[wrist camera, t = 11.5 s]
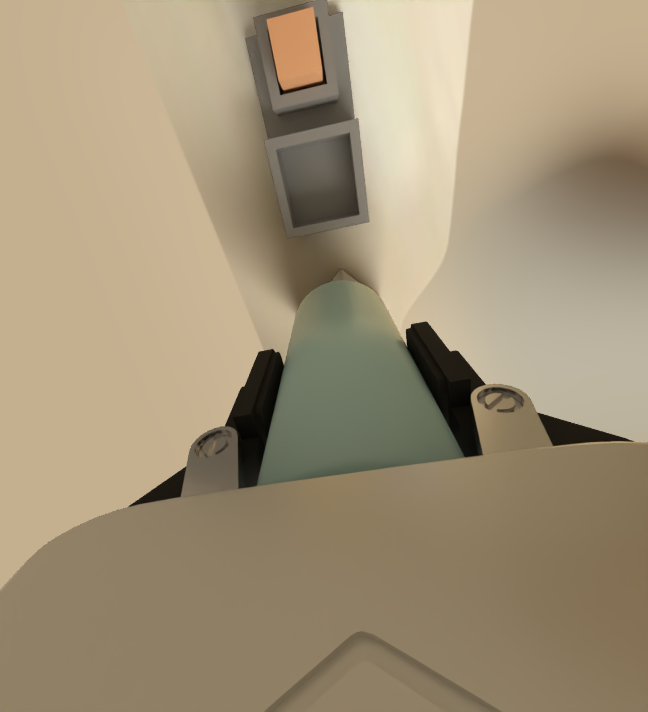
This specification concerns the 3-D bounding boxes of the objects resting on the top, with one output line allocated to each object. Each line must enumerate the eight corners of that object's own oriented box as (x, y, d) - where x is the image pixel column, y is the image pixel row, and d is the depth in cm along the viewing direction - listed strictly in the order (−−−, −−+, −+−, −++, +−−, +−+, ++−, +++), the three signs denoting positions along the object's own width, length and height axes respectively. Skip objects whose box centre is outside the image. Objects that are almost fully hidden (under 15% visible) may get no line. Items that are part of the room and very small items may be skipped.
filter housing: (364, 217, 33) (369, 222, 29) (291, 232, 33) (287, 238, 30) (342, 17, 25) (344, -8, 22) (247, 42, 26) (236, 22, 23)
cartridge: (393, 358, 17) (491, 597, 7) (306, 375, 17) (283, 618, 7) (382, 270, 14) (504, 437, 5) (283, 291, 15) (206, 482, 5)
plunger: (322, 87, 26) (322, 70, 22) (286, 96, 27) (278, 81, 22) (315, 36, 25) (313, 6, 20) (276, 46, 25) (266, 19, 21)
